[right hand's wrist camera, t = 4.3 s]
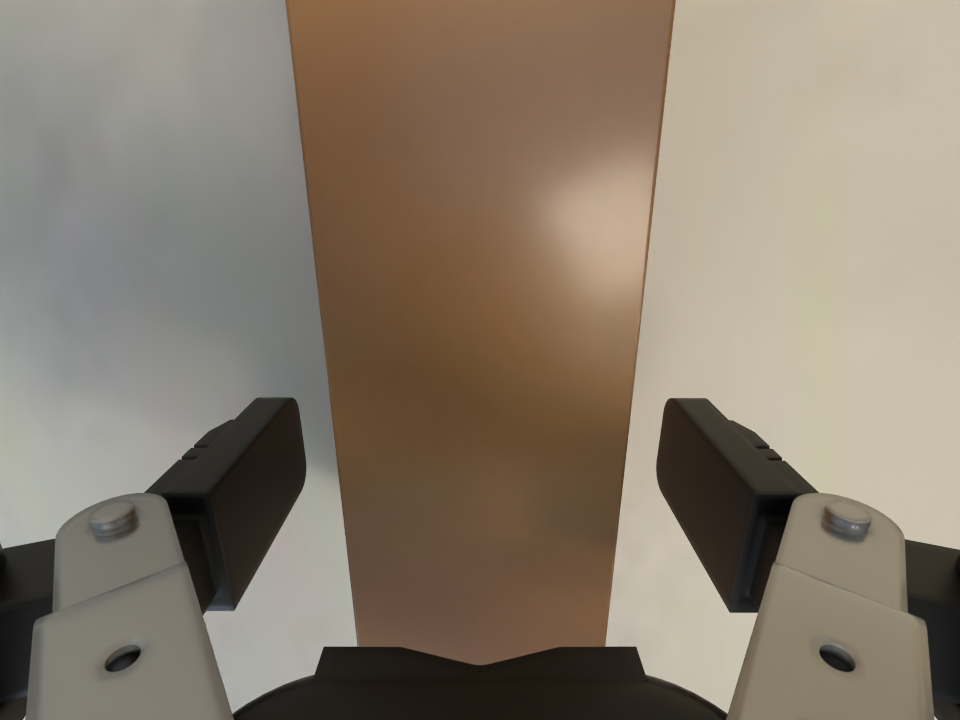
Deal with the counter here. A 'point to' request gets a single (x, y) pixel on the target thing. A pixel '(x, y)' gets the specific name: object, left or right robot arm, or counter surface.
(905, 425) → the counter surface
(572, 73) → the post
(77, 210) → the counter surface
